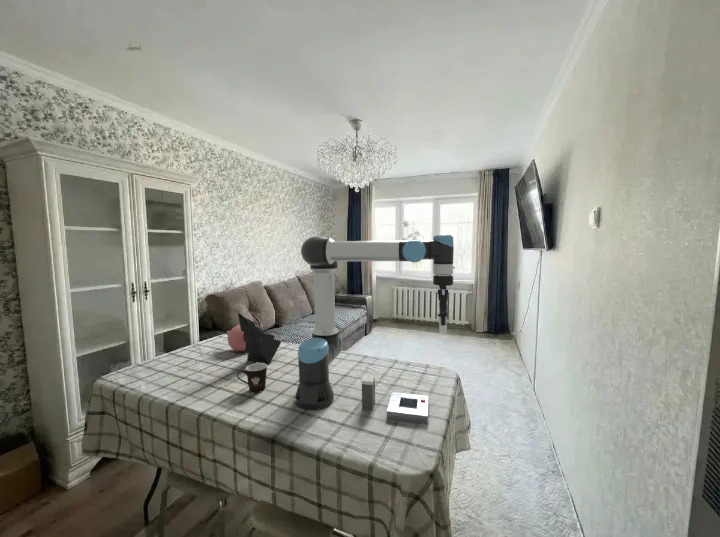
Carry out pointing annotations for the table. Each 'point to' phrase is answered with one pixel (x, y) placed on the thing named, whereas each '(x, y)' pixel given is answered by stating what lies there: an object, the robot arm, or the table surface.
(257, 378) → the coffee mug
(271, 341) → the dark angular faceted shape
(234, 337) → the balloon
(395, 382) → the table surface
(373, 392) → the plug
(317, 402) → the robot arm
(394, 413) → the socket block
